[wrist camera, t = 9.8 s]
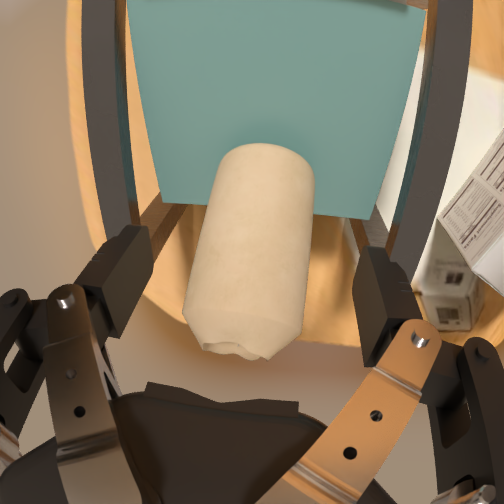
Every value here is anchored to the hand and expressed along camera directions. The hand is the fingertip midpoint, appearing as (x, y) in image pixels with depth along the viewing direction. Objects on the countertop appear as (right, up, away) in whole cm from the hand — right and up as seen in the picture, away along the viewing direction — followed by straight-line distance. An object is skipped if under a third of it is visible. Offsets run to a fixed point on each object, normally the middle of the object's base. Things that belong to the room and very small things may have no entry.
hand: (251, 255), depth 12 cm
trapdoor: (+1, +10, +4) cm, 10 cm away
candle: (+1, +5, +7) cm, 8 cm away
